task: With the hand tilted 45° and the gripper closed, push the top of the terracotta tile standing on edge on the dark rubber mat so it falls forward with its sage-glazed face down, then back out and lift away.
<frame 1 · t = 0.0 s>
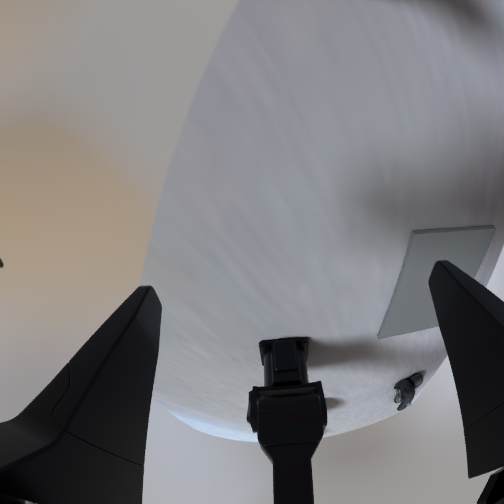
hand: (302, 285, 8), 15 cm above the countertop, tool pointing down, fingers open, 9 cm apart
mat: (435, 286, 30), on the countertop
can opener: (402, 386, 52), on the countertop
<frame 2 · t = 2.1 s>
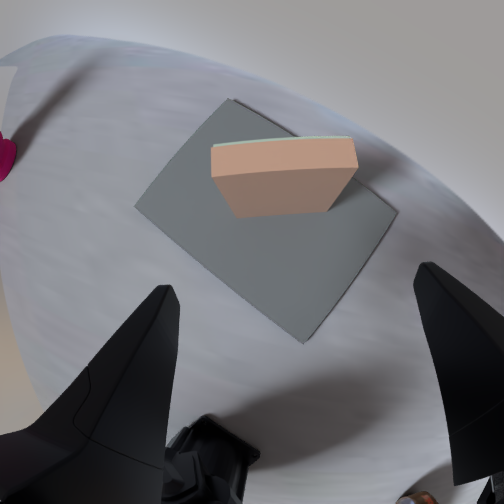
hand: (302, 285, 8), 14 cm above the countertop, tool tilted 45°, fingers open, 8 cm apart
mat: (263, 207, 22), on the countertop
tile: (281, 203, 21), point 1 cm above the countertop, touching mat
pepper mill: (5, 162, 26), on the countertop
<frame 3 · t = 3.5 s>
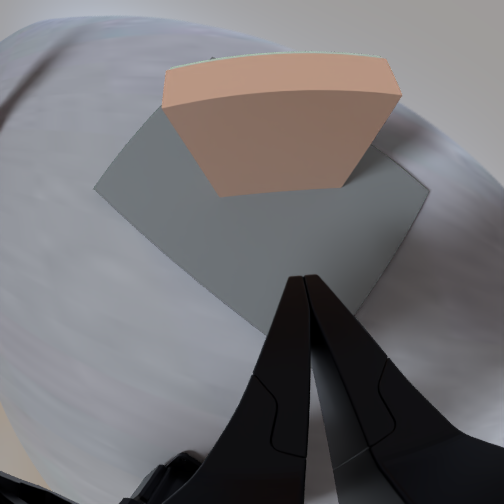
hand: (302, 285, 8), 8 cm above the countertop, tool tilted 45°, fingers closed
mat: (255, 183, 16), on the countertop
tile: (279, 176, 16), point 1 cm above the countertop, touching mat
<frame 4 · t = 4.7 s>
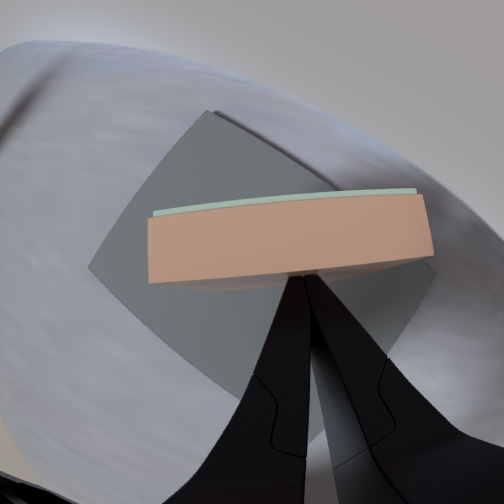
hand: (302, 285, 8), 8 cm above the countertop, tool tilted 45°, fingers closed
mat: (257, 273, 16), on the countertop
tile: (283, 269, 15), point 1 cm above the countertop, touching gripper, mat
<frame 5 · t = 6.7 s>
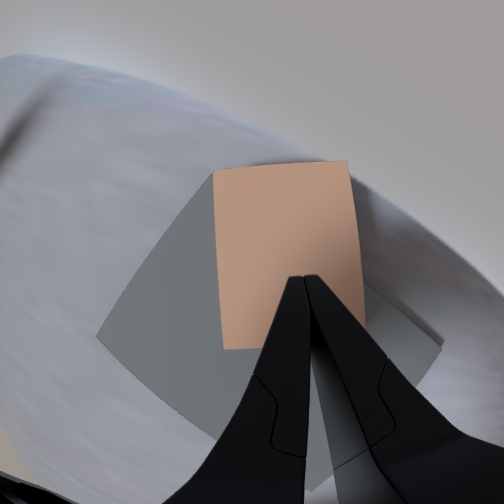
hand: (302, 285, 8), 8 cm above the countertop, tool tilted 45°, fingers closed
mat: (269, 355, 15), on the countertop
tile: (294, 341, 14), point 1 cm above the countertop, tilted 90°, touching mat
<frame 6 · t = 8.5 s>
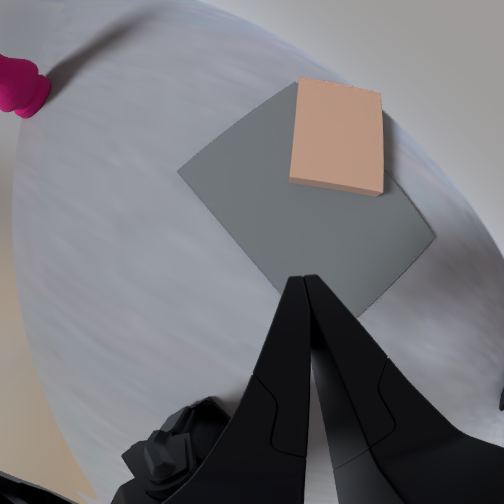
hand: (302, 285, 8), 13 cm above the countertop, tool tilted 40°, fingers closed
mat: (312, 202, 21), on the countertop
tile: (335, 187, 20), point 1 cm above the countertop, tilted 90°, touching mat
pepper mill: (36, 99, 24), on the countertop
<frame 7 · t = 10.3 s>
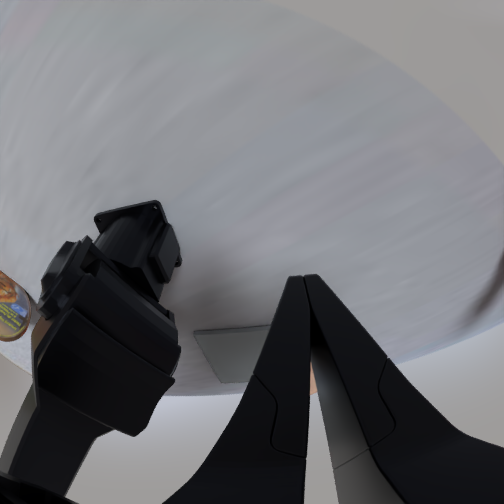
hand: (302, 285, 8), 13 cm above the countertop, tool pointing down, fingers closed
mat: (277, 354, 34), on the countertop
tin: (2, 275, 27), on the countertop
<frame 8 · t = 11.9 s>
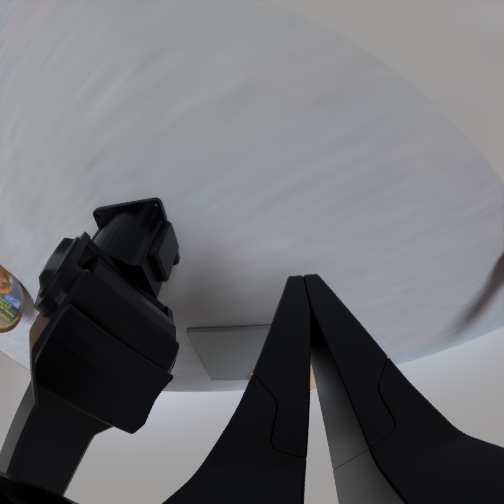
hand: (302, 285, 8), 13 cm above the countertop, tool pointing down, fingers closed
mat: (268, 353, 34), on the countertop
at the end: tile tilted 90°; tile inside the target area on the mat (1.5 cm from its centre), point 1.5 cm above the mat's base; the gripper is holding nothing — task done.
